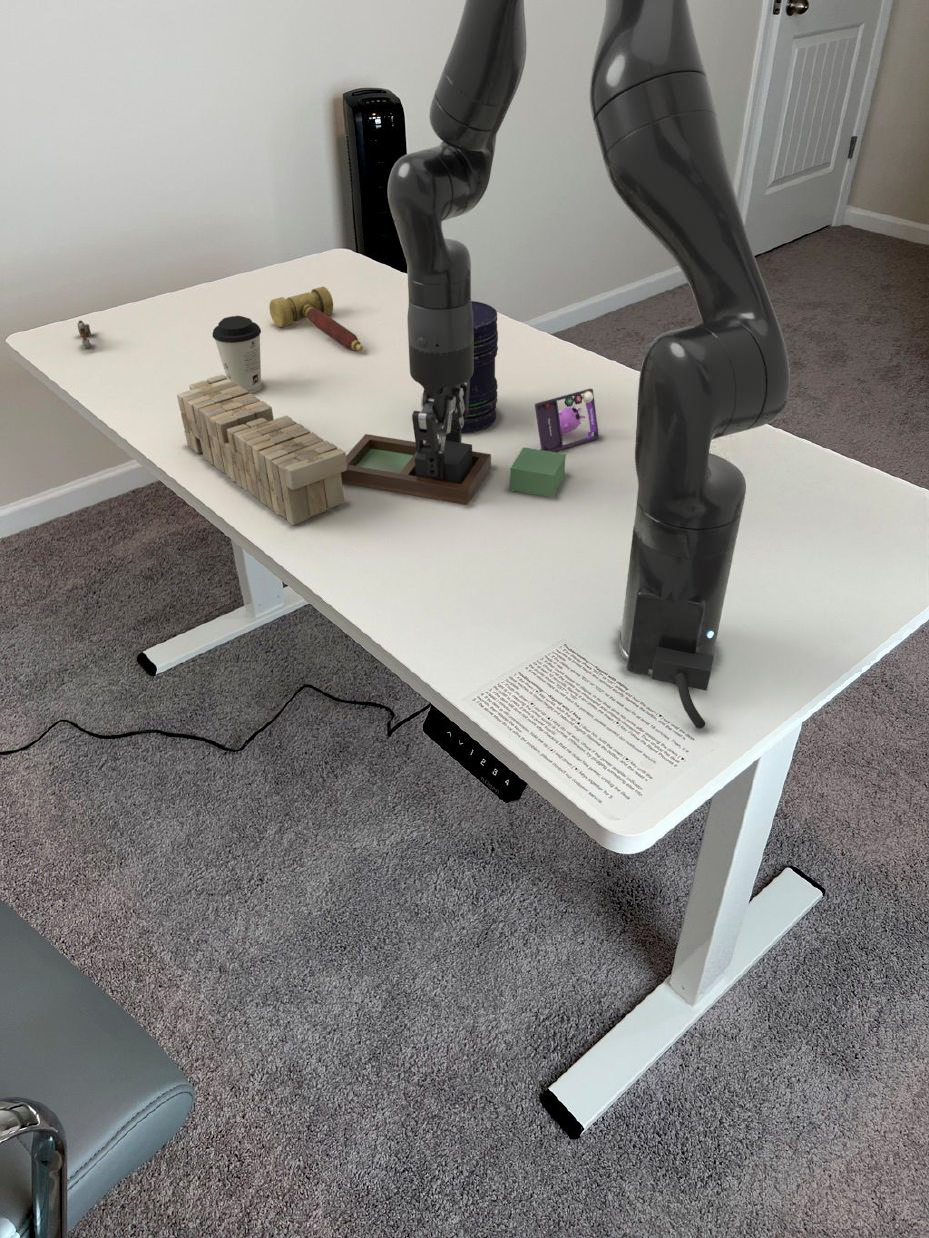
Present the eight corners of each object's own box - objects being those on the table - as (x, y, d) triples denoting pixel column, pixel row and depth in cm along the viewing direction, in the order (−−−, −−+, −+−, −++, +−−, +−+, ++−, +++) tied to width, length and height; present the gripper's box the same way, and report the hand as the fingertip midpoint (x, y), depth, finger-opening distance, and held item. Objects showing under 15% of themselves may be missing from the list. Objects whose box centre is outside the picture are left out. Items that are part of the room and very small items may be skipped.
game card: (539, 404, 124) (596, 388, 127) (518, 402, 128) (573, 387, 132) (546, 455, 126) (602, 438, 130) (526, 451, 131) (580, 435, 134)
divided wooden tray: (467, 505, 118) (467, 490, 116) (336, 482, 122) (335, 467, 121) (491, 468, 124) (491, 454, 123) (366, 447, 129) (365, 433, 128)
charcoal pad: (457, 488, 119) (457, 465, 117) (415, 481, 120) (414, 458, 118) (472, 466, 123) (472, 444, 121) (431, 459, 124) (430, 437, 122)
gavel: (387, 327, 153) (333, 343, 148) (387, 354, 156) (335, 370, 151) (319, 282, 165) (267, 295, 160) (321, 308, 168) (270, 321, 163)
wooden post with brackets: (81, 350, 153) (73, 320, 152) (83, 352, 161) (76, 324, 159) (93, 348, 154) (85, 319, 152) (95, 350, 161) (88, 322, 160)
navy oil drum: (484, 397, 141) (484, 296, 131) (507, 427, 133) (509, 322, 124) (418, 407, 138) (414, 305, 129) (438, 438, 131) (435, 332, 122)
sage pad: (553, 498, 119) (554, 475, 117) (509, 490, 120) (510, 468, 118) (564, 476, 123) (565, 453, 121) (522, 469, 124) (523, 447, 122)
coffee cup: (273, 393, 142) (264, 327, 136) (226, 401, 140) (215, 335, 134) (263, 374, 147) (254, 310, 141) (218, 382, 145) (206, 318, 139)
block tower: (183, 448, 131) (297, 532, 113) (170, 390, 126) (286, 468, 108) (234, 430, 135) (352, 508, 117) (223, 373, 130) (345, 446, 112)
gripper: (450, 366, 104) (453, 499, 115) (491, 318, 115) (490, 444, 125) (386, 357, 106) (395, 489, 117) (432, 310, 117) (436, 436, 127)
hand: (444, 465), depth 121 cm, fingers closed on charcoal pad, 5 cm apart
